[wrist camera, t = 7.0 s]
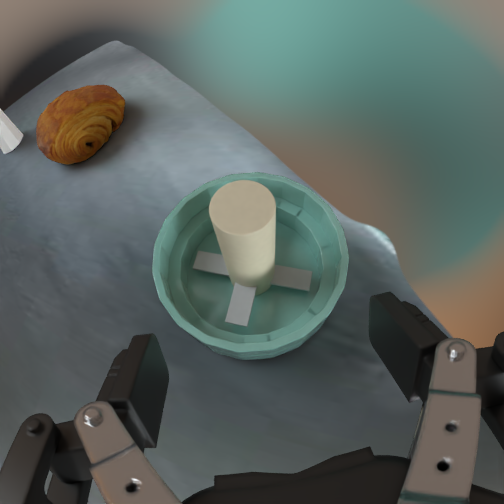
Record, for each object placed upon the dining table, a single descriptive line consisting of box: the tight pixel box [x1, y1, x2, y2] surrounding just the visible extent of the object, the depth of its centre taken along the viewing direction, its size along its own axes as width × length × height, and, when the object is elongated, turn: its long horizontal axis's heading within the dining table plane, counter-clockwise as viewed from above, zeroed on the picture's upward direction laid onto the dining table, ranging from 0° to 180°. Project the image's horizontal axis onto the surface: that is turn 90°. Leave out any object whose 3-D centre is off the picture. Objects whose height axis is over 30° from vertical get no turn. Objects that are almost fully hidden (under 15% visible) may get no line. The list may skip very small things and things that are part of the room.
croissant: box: [36, 85, 125, 164], centre depth 38 cm, size 14×16×8 cm
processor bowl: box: [152, 172, 349, 360], centre depth 27 cm, size 15×15×6 cm
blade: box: [193, 180, 312, 327], centre depth 24 cm, size 10×10×11 cm
